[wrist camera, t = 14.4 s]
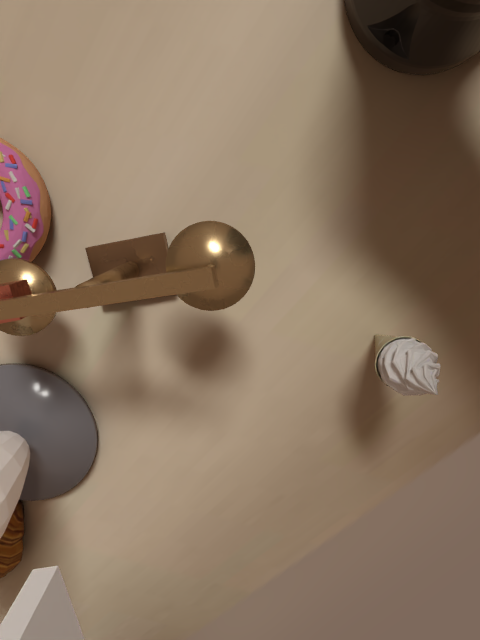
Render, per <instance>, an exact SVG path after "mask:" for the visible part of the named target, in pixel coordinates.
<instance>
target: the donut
mask: <svg viewBox="0 0 480 640" xmlns="http://www.w3.org/2000/svg"><path fill="white" fill-rule="evenodd" d="M0 200H1V203H2V207H3V223H2V227H1V230H0V260H4V259H10V258H19V259H24V260H28V261H30V262H32V261H33V260H34V259H35V257H36V256H37V255H38V253H39V252H40V251H41V249H42V247H43V245H44V243H45V241H46V238H47V235H48V232H49V228H50V221H51V205H50V198H49V195H48V191H47V188H46V185H45V183H44V181H43V179H42V177H41V175H40V173H39V172H38V170H37V169H36V167H35V166H34V165H33V163H32V162H31V161H30V160H29V159H28V158H27V157H26V156H25V155H24V154H23V153H22V152H21V151H20V150H18V149H17V148H15V147H14V146H13V145H11V144H10V143H8V142H7V141H5V140H3V139H2V138H0Z"/></svg>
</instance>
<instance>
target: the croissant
mask: <svg viewBox="0 0 480 640" xmlns="http://www.w3.org/2000/svg"><path fill="white" fill-rule="evenodd" d="M23 535H24V509H23V502H22V501H21V500H18V503H17V505H16V507H15V509H14V512H13V514H12V516H11V518H10V521H9V523H8V525H7V528H6V530H5V532H4V534H3V535H2V537H1V538H0V578H2V577H4V576H6V574H7V573H8V572H10V571H11V570H13V569H14V568H15V567H16V566H17V565H18V564H19V562H20V561H21V558H22V552H23V541H22V537H23Z"/></svg>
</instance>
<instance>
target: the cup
mask: <svg viewBox="0 0 480 640" xmlns="http://www.w3.org/2000/svg"><path fill="white" fill-rule="evenodd" d="M29 461H30V449H29V445H28V444H27V442H26V440H25V439H24V438H23V437H21V436H20V435H19V434H17V433H14V432H11V431H0V538H1V537H2V535H3V534H4V532H5V530H6V528H7V525H8V523H9V521H10V518H11V516H12V514H13V512H14V509H15V507H16V505H17V503H18V500H19V498H20V495H21V492H22V489H23V485H24V482H25V478H26V475H27V471H28V467H29Z"/></svg>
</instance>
